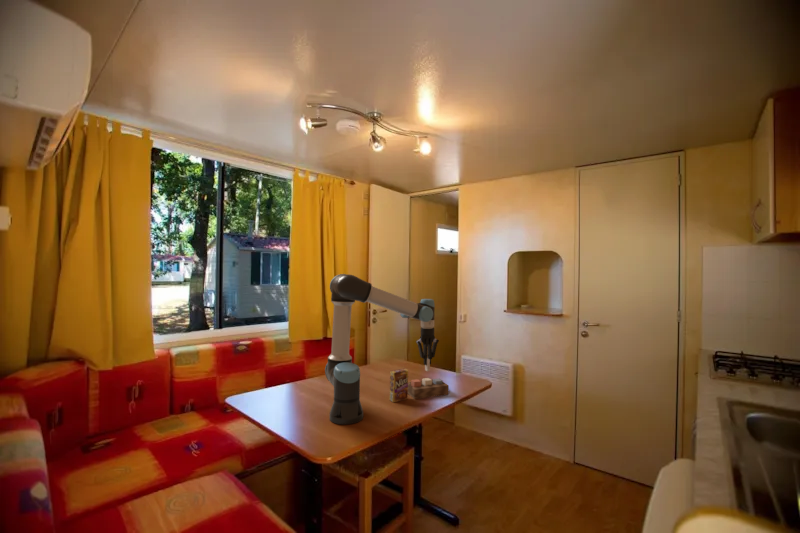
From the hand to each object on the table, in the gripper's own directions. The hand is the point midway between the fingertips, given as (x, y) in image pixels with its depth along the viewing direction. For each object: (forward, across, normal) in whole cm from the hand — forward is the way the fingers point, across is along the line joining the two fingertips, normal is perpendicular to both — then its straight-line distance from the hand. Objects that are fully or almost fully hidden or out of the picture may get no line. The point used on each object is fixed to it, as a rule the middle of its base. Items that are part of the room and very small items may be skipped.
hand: (427, 370), depth 192 cm
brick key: (+9, -7, 0) cm, 11 cm away
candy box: (+12, -18, -4) cm, 22 cm away
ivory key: (+9, 0, 0) cm, 9 cm away
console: (+12, 0, 0) cm, 12 cm away
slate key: (+10, +6, 0) cm, 12 cm away
